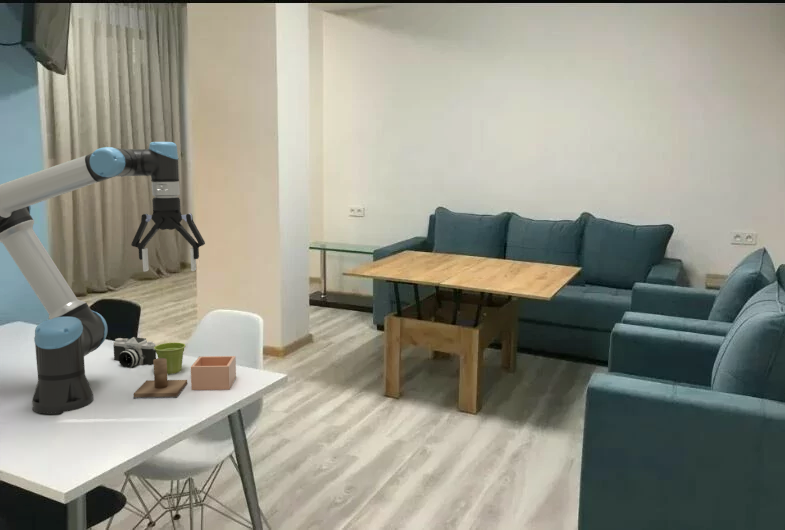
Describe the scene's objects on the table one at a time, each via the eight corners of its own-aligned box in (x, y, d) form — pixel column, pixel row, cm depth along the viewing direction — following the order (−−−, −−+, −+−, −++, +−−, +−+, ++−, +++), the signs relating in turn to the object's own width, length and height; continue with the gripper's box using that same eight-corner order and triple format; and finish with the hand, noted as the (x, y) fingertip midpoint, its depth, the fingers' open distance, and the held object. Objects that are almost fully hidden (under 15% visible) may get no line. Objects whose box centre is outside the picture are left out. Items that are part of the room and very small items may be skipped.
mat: (133, 398, 190) (133, 396, 190) (146, 384, 202) (146, 383, 202) (177, 397, 191) (176, 396, 191) (187, 384, 203) (187, 383, 202)
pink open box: (191, 390, 197) (190, 366, 196) (200, 378, 208) (199, 356, 207) (229, 389, 198) (228, 366, 197) (236, 378, 209) (235, 356, 208)
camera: (102, 367, 220) (100, 337, 218) (120, 360, 228) (118, 331, 226) (143, 372, 215) (141, 341, 213) (160, 364, 223) (159, 335, 222)
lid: (133, 397, 190) (131, 366, 189) (146, 383, 202) (145, 354, 201) (176, 396, 191) (175, 365, 189) (187, 383, 202) (186, 353, 201)
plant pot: (177, 378, 209) (176, 350, 207) (149, 376, 210) (148, 349, 209) (192, 369, 218) (191, 343, 216) (165, 367, 219) (164, 341, 218)
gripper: (116, 197, 188) (121, 273, 191) (207, 197, 189) (210, 272, 192) (126, 196, 195) (130, 269, 198) (213, 196, 197) (216, 268, 200)
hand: (169, 270), depth 195 cm, fingers open, 13 cm apart
